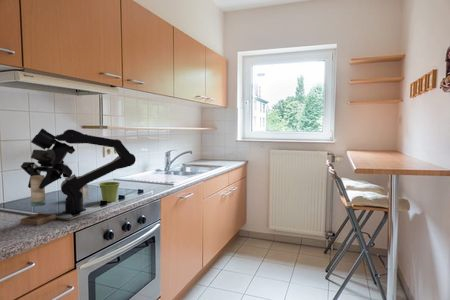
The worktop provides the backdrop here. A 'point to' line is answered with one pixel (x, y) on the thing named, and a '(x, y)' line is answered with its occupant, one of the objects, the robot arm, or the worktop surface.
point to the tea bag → (85, 192)
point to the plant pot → (109, 191)
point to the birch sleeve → (37, 191)
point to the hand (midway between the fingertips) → (34, 187)
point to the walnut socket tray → (38, 219)
